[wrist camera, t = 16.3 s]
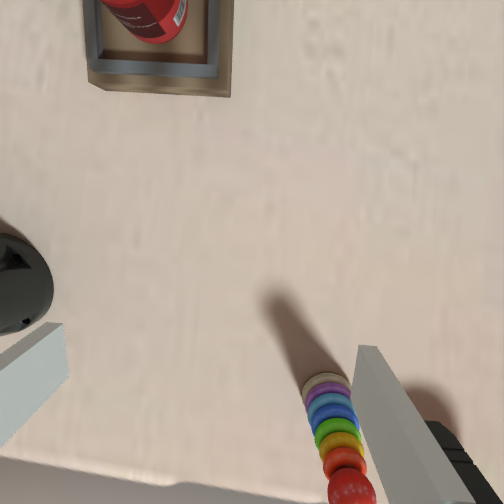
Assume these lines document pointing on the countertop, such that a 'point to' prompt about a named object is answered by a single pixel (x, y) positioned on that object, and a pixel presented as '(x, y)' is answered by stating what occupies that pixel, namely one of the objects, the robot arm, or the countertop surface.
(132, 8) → the canned food
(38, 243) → the countertop surface
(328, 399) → the stacking toy
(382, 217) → the countertop surface
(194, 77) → the square wooden tray
